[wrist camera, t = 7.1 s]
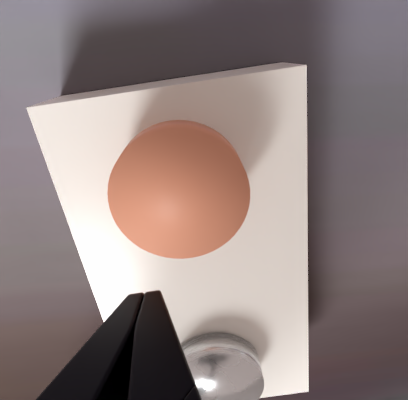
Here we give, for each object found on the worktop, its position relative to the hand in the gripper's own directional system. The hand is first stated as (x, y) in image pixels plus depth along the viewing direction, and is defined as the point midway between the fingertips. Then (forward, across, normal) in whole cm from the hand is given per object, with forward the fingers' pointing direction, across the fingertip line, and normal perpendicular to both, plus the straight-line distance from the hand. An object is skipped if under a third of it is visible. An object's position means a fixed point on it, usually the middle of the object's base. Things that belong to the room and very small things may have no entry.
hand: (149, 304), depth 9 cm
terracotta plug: (+10, -1, -1) cm, 10 cm away
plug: (+11, -1, +12) cm, 17 cm away
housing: (+12, -1, +6) cm, 13 cm away
